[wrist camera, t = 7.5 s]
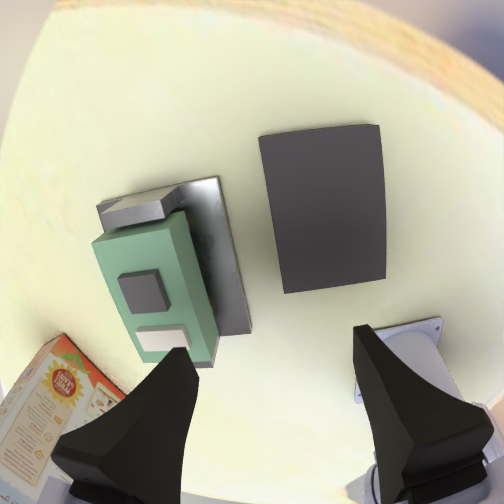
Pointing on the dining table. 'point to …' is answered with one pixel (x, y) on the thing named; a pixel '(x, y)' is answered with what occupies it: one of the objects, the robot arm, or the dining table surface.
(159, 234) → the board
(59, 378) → the cracker box
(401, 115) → the dining table surface
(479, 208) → the dining table surface
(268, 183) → the pad
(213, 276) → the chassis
